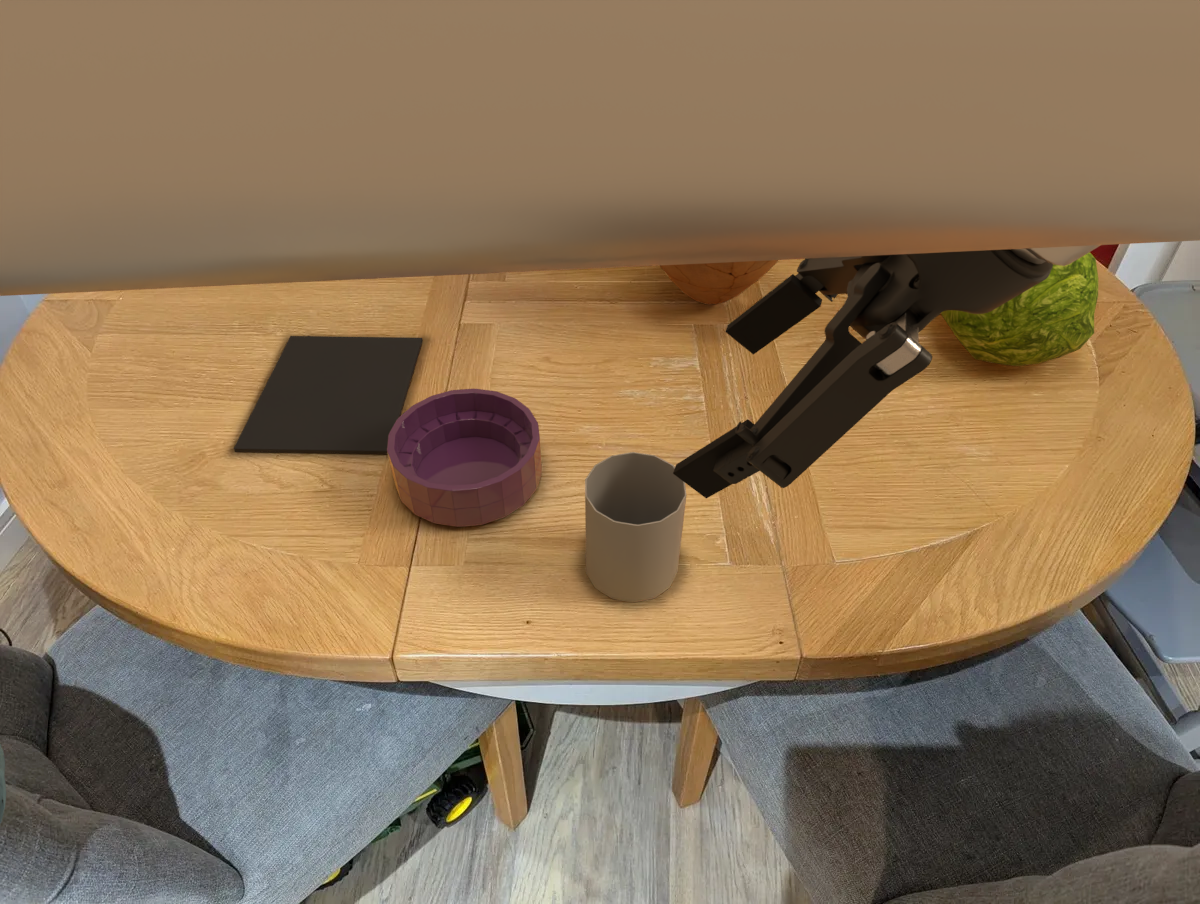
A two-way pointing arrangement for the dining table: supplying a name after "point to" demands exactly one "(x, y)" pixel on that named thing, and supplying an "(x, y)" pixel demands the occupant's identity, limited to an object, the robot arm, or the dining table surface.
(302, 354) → the place mat
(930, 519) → the dining table surface
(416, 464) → the plum bowl
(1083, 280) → the lettuce
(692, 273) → the bowl
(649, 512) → the cup
